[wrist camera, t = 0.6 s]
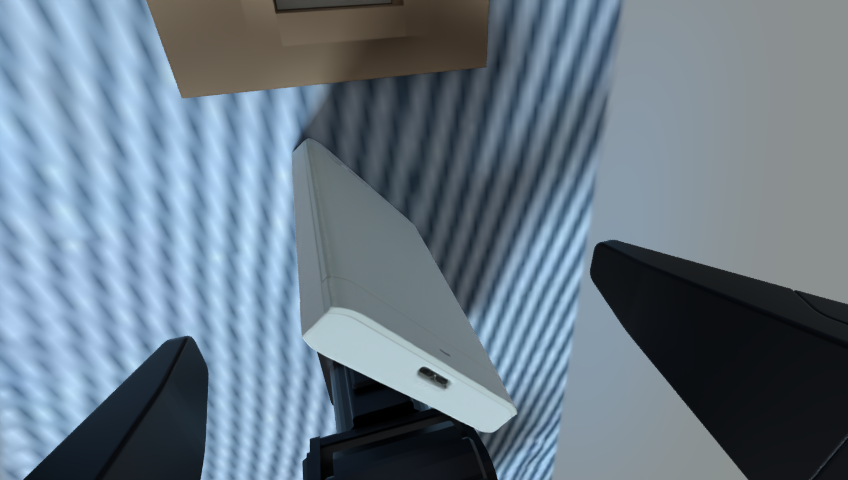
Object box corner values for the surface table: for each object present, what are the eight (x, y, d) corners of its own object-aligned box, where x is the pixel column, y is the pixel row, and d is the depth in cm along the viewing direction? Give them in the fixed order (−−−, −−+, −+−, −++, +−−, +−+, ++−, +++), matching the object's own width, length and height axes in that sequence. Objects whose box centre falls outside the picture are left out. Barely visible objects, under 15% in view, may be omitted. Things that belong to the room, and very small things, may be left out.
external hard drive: (310, 132, 19) (340, 299, 9) (420, 228, 23) (523, 410, 13) (287, 157, 19) (290, 346, 9) (400, 247, 24) (487, 439, 14)
